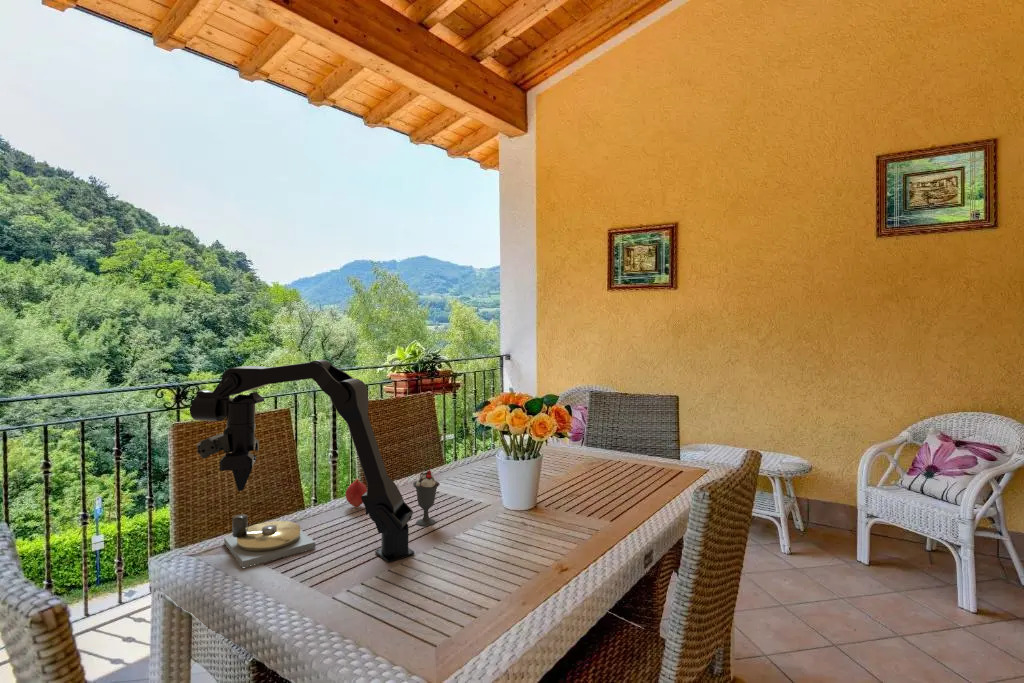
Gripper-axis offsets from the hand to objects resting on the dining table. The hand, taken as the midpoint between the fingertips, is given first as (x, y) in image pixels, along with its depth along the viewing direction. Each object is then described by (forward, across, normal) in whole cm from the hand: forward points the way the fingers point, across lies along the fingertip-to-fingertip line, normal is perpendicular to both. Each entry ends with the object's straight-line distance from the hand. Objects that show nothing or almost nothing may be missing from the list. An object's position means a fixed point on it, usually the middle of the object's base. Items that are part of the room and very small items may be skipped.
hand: (240, 490), depth 120 cm
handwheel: (+10, +3, +6) cm, 13 cm away
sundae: (+12, +1, +42) cm, 44 cm away
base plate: (+12, +3, +6) cm, 14 cm away
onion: (+12, -16, +27) cm, 34 cm away
